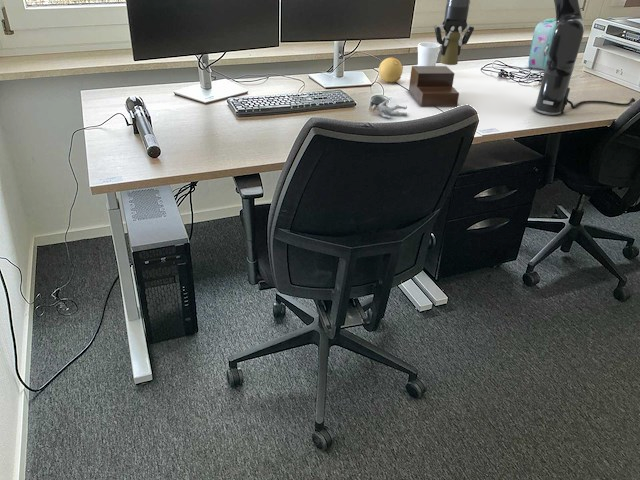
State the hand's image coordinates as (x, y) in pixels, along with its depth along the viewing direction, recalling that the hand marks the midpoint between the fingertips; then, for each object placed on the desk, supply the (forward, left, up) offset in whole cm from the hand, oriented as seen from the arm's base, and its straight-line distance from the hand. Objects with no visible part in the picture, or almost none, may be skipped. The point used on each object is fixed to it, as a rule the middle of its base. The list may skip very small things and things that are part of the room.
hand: (449, 56), depth 191 cm
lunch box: (-68, -58, -19) cm, 92 cm away
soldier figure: (+21, +6, -19) cm, 29 cm away
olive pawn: (0, 0, -2) cm, 2 cm away
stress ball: (+12, -33, -19) cm, 40 cm away
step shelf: (0, -12, -19) cm, 22 cm away
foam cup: (-6, -42, -19) cm, 47 cm away
